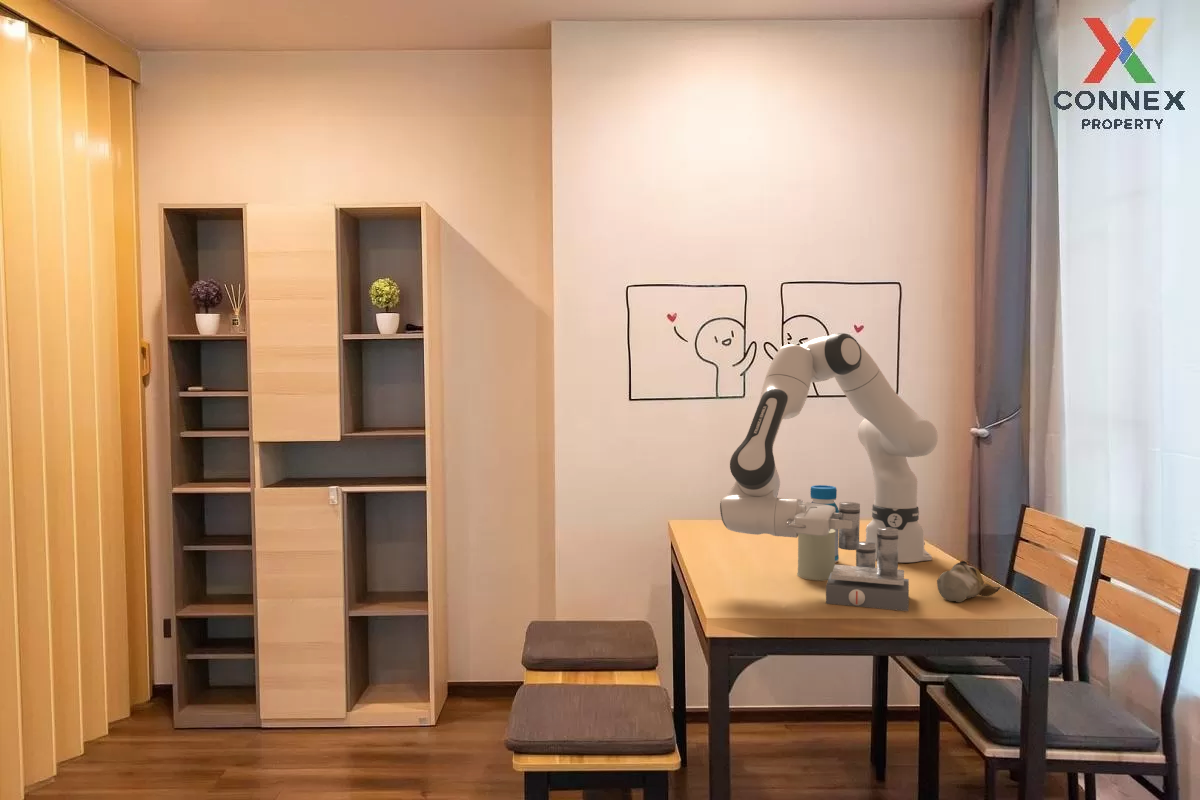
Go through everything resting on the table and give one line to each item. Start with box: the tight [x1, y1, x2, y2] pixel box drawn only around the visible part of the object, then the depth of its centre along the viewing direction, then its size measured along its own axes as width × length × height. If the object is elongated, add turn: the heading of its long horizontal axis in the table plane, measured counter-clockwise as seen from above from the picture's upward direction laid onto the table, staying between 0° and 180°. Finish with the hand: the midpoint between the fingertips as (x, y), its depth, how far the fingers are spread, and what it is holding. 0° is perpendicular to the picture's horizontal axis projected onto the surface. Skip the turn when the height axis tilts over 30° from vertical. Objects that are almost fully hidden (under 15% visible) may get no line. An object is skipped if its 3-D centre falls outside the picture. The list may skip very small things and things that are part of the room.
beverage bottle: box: [810, 484, 840, 564], centre depth 220 cm, size 8×8×20 cm
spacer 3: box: [876, 527, 899, 576], centre depth 181 cm, size 4×4×10 cm
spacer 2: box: [855, 540, 877, 568], centre depth 196 cm, size 4×4×10 cm
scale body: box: [825, 573, 910, 612], centre depth 183 cm, size 12×17×4 cm
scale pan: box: [831, 564, 905, 585], centre depth 183 cm, size 10×15×1 cm, turn 70°
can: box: [796, 529, 836, 581], centre depth 204 cm, size 9×9×12 cm
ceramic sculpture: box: [936, 560, 1001, 603], centre depth 185 cm, size 11×9×15 cm
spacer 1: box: [838, 501, 861, 551], centre depth 184 cm, size 4×4×10 cm
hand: (853, 522), depth 184 cm, fingers closed on spacer 1, 4 cm apart
